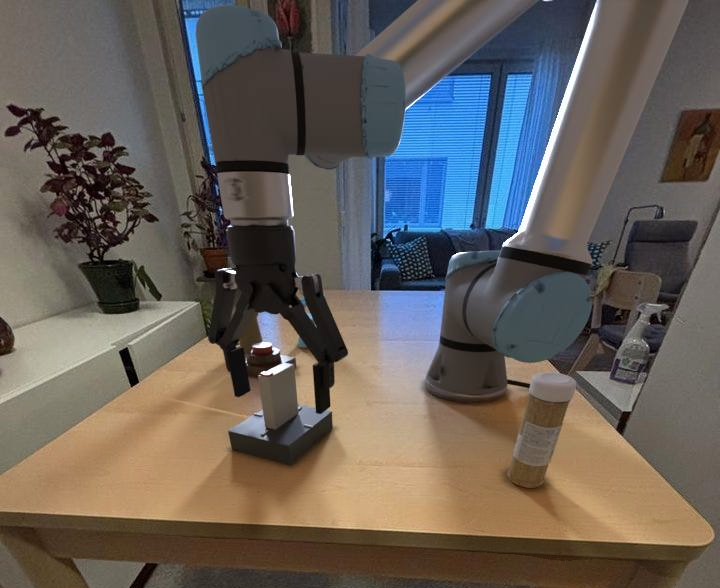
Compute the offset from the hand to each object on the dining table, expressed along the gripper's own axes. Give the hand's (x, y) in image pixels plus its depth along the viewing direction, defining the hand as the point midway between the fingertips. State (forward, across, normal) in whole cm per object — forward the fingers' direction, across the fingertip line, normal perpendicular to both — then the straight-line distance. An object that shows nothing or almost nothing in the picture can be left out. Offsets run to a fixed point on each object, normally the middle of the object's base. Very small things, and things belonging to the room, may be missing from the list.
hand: (281, 401), depth 56 cm
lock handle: (+3, 0, 0) cm, 3 cm away
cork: (+6, -32, +34) cm, 47 cm away
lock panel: (+6, 0, 0) cm, 6 cm away
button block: (+6, -21, +24) cm, 32 cm away
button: (+2, -21, +24) cm, 32 cm away
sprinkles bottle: (+6, +34, +4) cm, 35 cm away
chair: (+6, -21, +45) cm, 50 cm away
